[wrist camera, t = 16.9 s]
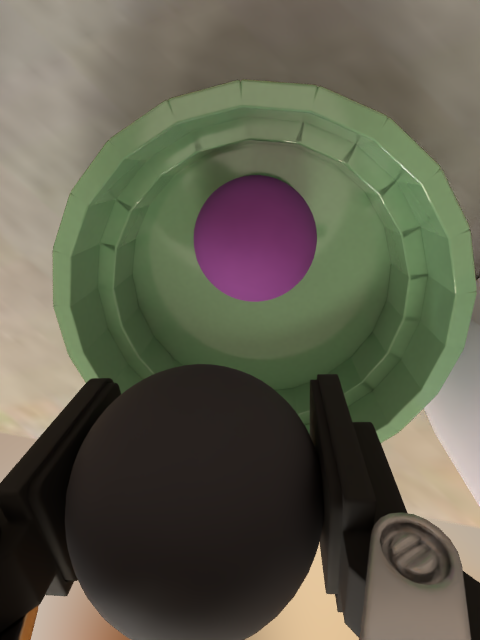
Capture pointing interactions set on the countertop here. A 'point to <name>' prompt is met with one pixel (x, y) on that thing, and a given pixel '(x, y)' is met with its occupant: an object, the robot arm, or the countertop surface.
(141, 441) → the charcoal ball
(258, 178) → the purple ball
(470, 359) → the soap bottle
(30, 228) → the countertop surface
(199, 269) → the green bowl
